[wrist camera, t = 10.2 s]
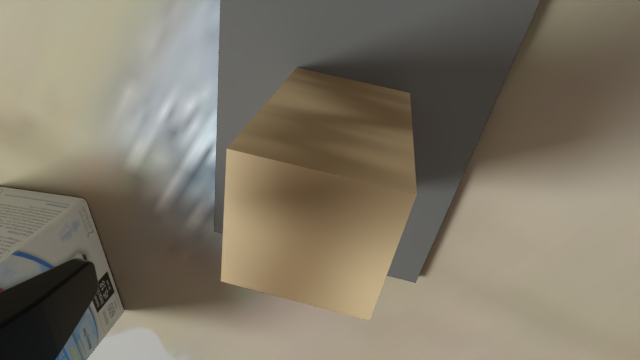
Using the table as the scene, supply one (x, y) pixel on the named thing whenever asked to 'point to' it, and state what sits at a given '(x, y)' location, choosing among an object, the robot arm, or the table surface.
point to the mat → (378, 80)
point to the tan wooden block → (320, 192)
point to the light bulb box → (57, 256)
